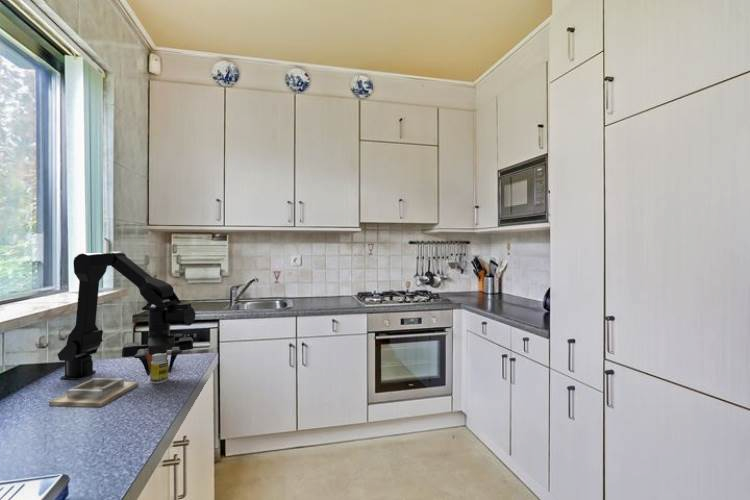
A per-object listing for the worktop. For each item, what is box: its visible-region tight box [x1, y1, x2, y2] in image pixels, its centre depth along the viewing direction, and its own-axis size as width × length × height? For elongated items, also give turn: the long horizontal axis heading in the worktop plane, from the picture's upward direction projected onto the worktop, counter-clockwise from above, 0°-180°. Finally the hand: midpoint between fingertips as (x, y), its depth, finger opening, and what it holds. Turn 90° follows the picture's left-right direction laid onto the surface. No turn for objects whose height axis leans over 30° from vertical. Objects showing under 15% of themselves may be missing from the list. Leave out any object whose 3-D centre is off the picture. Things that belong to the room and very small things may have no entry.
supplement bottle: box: [149, 352, 169, 384], centre depth 111 cm, size 5×5×8 cm
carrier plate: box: [48, 377, 139, 408], centre depth 101 cm, size 14×14×3 cm
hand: (159, 373), depth 111 cm, fingers open, 5 cm apart
